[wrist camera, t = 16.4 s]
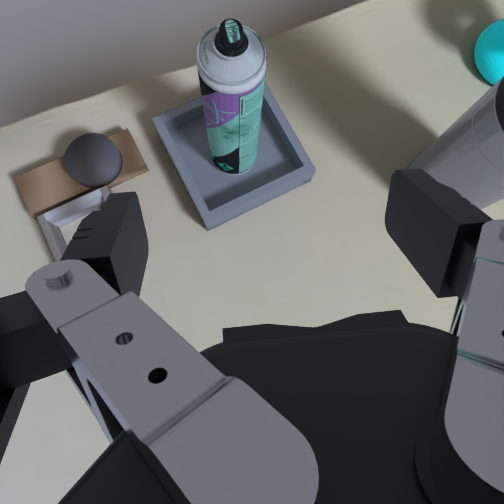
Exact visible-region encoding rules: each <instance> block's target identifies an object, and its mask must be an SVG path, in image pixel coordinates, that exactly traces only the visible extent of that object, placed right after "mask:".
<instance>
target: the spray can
mask: <svg viewBox="0 0 504 504" xmlns="http://www.w3.org/2000/svg"><path fill="white" fill-rule="evenodd" d="M196 61H197V68H198V75H199V81H200V88H201V95H202V101H203V108H204V114H205V121H206V127H207V134H208V141H209V147H210V154H211V159H212V162H213V164H214V166H215V168H216V169H217V170H218V171H220V172H221V173H223V174H225V175H228V176H239V175H243V174H245V173H246V172H248V171H249V170H250V169H251V168H252V167H253V165H254V163H255V160H256V154H257V145H258V136H259V127H260V118H261V109H262V100H263V91H264V82H265V73H266V61H267V59H266V49H265V45H264V43H263V41H262V39H261V38H260V36H259V35H258V34H257V33H256V32H255V31H254V30H252V29H250V28H249V27H247V26H244V25H242V24H241V23H240V22H239V21H237V20H235V19H226V20H224V21H223V22H222V23H221V24H220V25H217V26H215V27H213V28H211V29H210V30H208V31H207V32H206V33H205V34H204V35H203V37H202V38H201V39H200V41H199V44H198V47H197V60H196Z"/></svg>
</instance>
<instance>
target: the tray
mask: <svg viewBox="0 0 504 504" xmlns="http://www.w3.org/2000/svg"><path fill="white" fill-rule="evenodd" d="M152 121H153V123H154V126H155V128H156V130H157V133H158V135H159V137H160V139H161V141H162V143H163V145H164V147H165V149H166V151H167V153H168V155H169V157H170V158H171V160H172V162H173V164H174V166H175V168H176V170H177V172H178V174H179V176H180V178H181V180H182V182H183V184H184V186H185V188H186V190H187V192H188V194H189V196H190V198H191V200H192V202H193V203H194V205H195V207H196V209H197V211H198V213H199V215H200V217H201V219H202V221H203V223H204V225H205V227H206V229H207V231H209V230H211V229H213V228H215V227H217V226H219V225H221V224H223V223H225V222H227V221H229V220H231V219H233V218H236V217H238V216H240V215H242V214H244V213H246V212H248V211H250V210H252V209H254V208H256V207H258V206H260V205H262V204H264V203H266V202H268V201H270V200H272V199H275V198H277V197H279V196H281V195H283V194H285V193H287V192H289V191H291V190H293V189H295V188H297V187H299V186H301V185H303V184H305V183H307V182H309V181H311V179H312V177H313V175H314V173H315V171H316V169H315V167H314V165H313V164H312V162H311V160H310V158H309V157H308V155H307V153H306V151H305V150H304V148H303V146H302V145H301V143H300V141H299V139H298V138H297V136H296V134H295V132H294V131H293V129H292V127H291V126H290V124H289V122H288V120H287V119H286V117H285V115H284V113H283V112H282V110H281V108H280V107H279V105H278V103H277V101H276V100H275V98H274V96H273V94H272V93H271V91H270V89H269V87H268V86H267V84H266V82H264V91H263V100H262V109H261V118H260V127H259V136H258V145H257V154H256V160H255V163H254V165H253V167H252V168H251V169H250V170H249V171H248V172H246V173H245V174H243V175H239V176H228V175H225V174H223V173H221V172H220V171H218V170H217V169H216V168H215V166H214V164H213V162H212V159H211V154H210V147H209V141H208V134H207V127H206V121H205V114H204V108H203V101H202V96H201V97H199V98H197V99H195V100H192V101H190V102H188V103H185V104H183V105H181V106H179V107H176V108H174V109H172V110H169V111H167V112H165V113H163V114H160V115H158V116H156V117H153V118H152Z"/></svg>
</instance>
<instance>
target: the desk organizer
mask: <svg viewBox="0 0 504 504" xmlns="http://www.w3.org/2000/svg"><path fill="white" fill-rule="evenodd" d="M147 171H149V170H148V168H147V166H146V164H145V162H144V160H143V158H142V156H141V154H140V152H139V150H138V148H137V146H136V144H135V142H134V140H133V138H132V136H131V134H130V132H129V130H128V128H127V129H125V130H123V131H120V132H118V133H116V134H113V135H111V136H109V137H106V136H104V135H101V134H96V133H91V134H85V135H82V136H80V137H78V138H76V139H75V140H74V141H72V142H71V144H70V145H69V146H68V148H67V150H66V152H65V156H63V157H61V158H59V159H56V160H54V161H52V162H49V163H47V164H45V165H43V166H40V167H38V168H36V169H33V170H31V171H29V172H27V173H24V174H22V175H20V176H17V177H15V178H14V180H15V183H16V185H17V187H18V190H19V192H20V194H21V197H22V199H23V201H24V204H25V206H26V208H27V210H28V213H29V215H30V216H31V217H33V218H35V219H36V220H38V221H39V224H40V226H41V228H42V231H43V233H44V235H45V238H46V240H47V242H48V244H49V247H50V249H51V251H52V254H53V256H54V258H55V261H56V262H57V261H60V259H61V257H62V256H63V254H64V252H65V250H66V248H67V245H66V242H65V240H64V238H63V236H62V233H61V231H60V229H59V227H60V226H62V225H65V224H67V223H69V222H71V221H73V220H75V219H78V218H80V217H82V216H84V215H86V214H88V213H91V212H93V211H95V210H97V209H99V208H101V207H103V206H104V204H105V202H106V200H107V197H108V195H109V194H112V192H111V191H110V190H109V189H110V188H112V187H114V186H116V185H119V184H121V183H123V182H125V181H127V180H130V179H132V178H134V177H136V176H138V175H140V174H143V173H145V172H147Z"/></svg>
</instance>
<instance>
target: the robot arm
mask: <svg viewBox="0 0 504 504" xmlns="http://www.w3.org/2000/svg"><path fill="white" fill-rule="evenodd" d="M502 199H504V76H503V77H502V78H501V79H500V80H499V81H498V82H497V83H496V84H495V85H493V86H492V87H491V88H490V89H489V90H488V91H487V92H486V93H485V94H484V95H483V96H482V97H481V98H480V99H479V100H478V101H477V102H476V103H475V104H474V105H473V106H471V107H470V108H469V109H468V110H467V111H466V112H465V113H464V114H463V115H462V116H461V117H460V118H459V119H458V120H457V121H456V122H455V123H453V124H452V125H451V126H450V127H449V128H448V129H447V130H446V131H445V132H444V133H443V134H442V135H441V136H440V137H439V138H438V139H437V140H435V141H434V142H433V143H432V144H431V145H430V146H429V147H428V148H427V149H426V150H425V151H424V152H423V153H421V154H420V155H419V156H418V157H417V158H416V159H415V160H414V161H413V162H412V163H411V164H410V166H409V167H408V169H405V170H396V171H395V172H394V173H393V175H392V178H391V183H390V189H389V195H388V201H387V207H386V213H385V225H386V230H387V232H388V234H389V235H390V237H391V238H392V239H393V240H394V242H395V243H396V244H397V246H398V247H399V248H400V250H401V251H402V252H403V254H404V255H405V256H406V257H407V259H408V260H409V261H410V263H411V264H412V265H413V267H414V268H415V269H416V270H417V272H418V273H419V274H420V276H421V277H422V278H423V280H424V281H425V282H426V284H427V285H428V286H429V287H430V289H431V290H432V291H433V293H434V294H435V295H436V297H437V298H443V297H453V296H457V297H458V301H457V304H456V307H455V310H454V314H453V318H452V322H451V325H450V329H449V333H448V332H446V331H443V330H440V329H437V328H433V327H429V326H426V325H421V324H415V323H408V321H407V320H406V318H405V316H404V315H403V313H402V312H401V310H393V311H384V312H374V313H365V314H357V315H354V316H351V317H348V318H345V319H341V320H338V321H335V322H332V323H329V324H326V325H323V326H320V327H299V326H287V325H275V324H261V325H251V326H242V327H232V328H223V342H222V343H219V344H216V345H214V346H211V347H209V348H207V349H205V350H203V351H201V352H200V353H199V352H198V351H197V350H196V349H195V348H194V347H192V346H191V345H190V344H189V343H188V342H187V341H186V340H185V339H184V338H183V337H182V336H180V335H179V334H178V333H177V332H176V331H175V330H174V329H173V328H172V327H171V326H170V325H168V324H167V323H166V322H165V321H164V320H163V319H162V318H161V317H160V316H159V315H158V314H156V313H155V312H154V311H153V310H152V309H151V308H150V307H149V306H148V305H147V304H146V303H144V302H143V301H142V300H141V299H140V298H139V295H140V290H141V286H142V281H143V277H144V272H145V268H146V263H147V258H148V239H147V234H146V229H145V225H144V221H143V217H142V212H141V208H140V204H139V200H138V196H137V194H136V192H124V193H112V194H109V195H108V197H107V200H106V202H105V204H104V206H103V208H102V210H99V211H93V212H92V213H90V214H89V215H88V216H86V217H85V218H84V219H83V220H82V221H81V223H80V225H79V226H78V228H77V232H75V234H74V235H73V237H72V239H73V240H71V241H70V243H69V245H68V246H67V248H66V250H65V252H64V254H63V256H62V257H61V259H60V261H57V262H54V263H51V264H48V265H46V266H44V267H42V268H40V269H38V270H37V271H36V272H34V273H33V274H32V275H31V276H30V277H29V278H28V279H27V281H26V284H25V289H26V290H25V291H23V292H20V293H16V294H13V295H9V296H6V297H2V298H0V463H1V461H2V458H3V455H4V453H5V450H6V447H7V445H8V442H9V439H10V437H11V434H12V432H13V429H14V426H15V424H16V421H17V418H18V416H19V413H20V410H21V408H22V405H23V402H24V400H25V397H26V394H27V392H28V389H29V387H30V383H31V382H34V381H36V380H39V379H42V378H45V377H48V376H50V375H53V374H56V373H59V372H61V371H64V370H65V372H66V374H67V375H68V377H69V378H70V380H71V381H72V383H73V384H74V386H75V387H76V389H77V390H78V392H79V393H80V395H81V396H82V398H83V400H84V401H85V403H86V404H87V406H88V407H89V409H90V410H91V412H92V413H93V415H94V416H95V418H96V419H97V421H98V423H99V424H100V426H101V428H102V430H103V432H104V434H105V435H106V437H107V439H108V441H109V443H110V446H109V447H108V448H107V449H106V450H105V451H104V452H103V453H102V454H101V456H100V457H99V458H98V459H97V460H96V461H95V462H94V463H93V465H92V466H91V467H90V468H89V469H88V470H87V471H86V472H85V474H84V475H83V476H82V477H81V478H80V479H79V480H78V481H77V483H76V484H75V485H74V486H73V487H72V488H71V489H70V490H69V492H68V493H67V494H66V495H65V496H64V497H63V498H62V499H61V501H60V502H59V503H58V504H504V220H493V219H491V218H490V217H489V216H488V215H486V214H485V213H484V212H483V211H481V209H483V208H485V207H487V206H489V205H491V204H493V203H495V202H498V201H500V200H502Z"/></svg>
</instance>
